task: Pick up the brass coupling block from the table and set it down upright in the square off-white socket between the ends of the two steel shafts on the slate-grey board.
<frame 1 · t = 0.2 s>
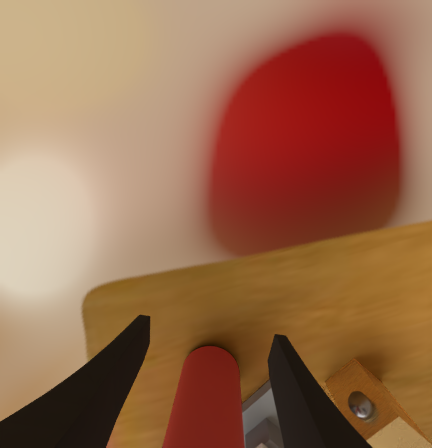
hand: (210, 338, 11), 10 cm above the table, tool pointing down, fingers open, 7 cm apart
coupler: (352, 381, 23), on the table
beer can: (211, 365, 24), on the table
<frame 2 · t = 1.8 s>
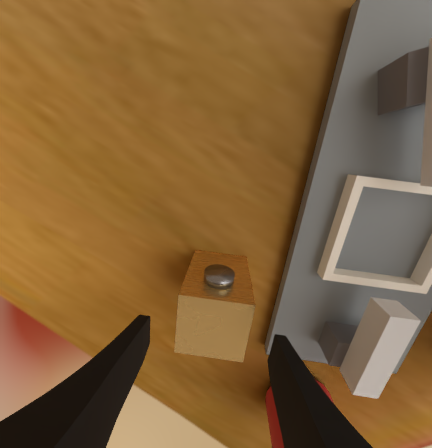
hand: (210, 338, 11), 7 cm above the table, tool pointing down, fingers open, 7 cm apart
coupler: (217, 275, 18), on the table
shaft board: (374, 229, 15), on the table
beer can: (294, 391, 22), on the table
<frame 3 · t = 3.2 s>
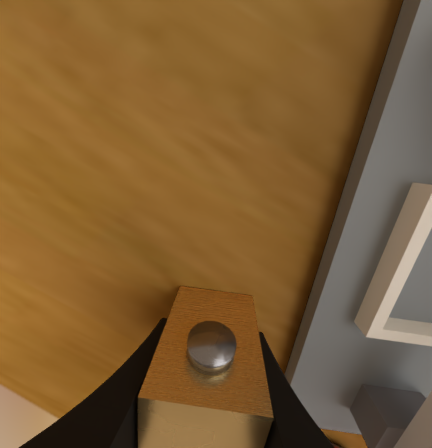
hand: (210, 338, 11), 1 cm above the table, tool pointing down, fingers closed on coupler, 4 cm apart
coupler: (212, 319, 13), on the table, touching gripper
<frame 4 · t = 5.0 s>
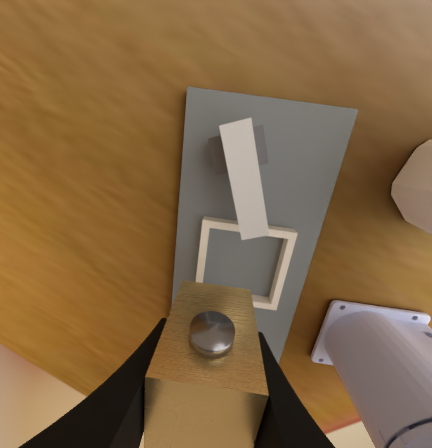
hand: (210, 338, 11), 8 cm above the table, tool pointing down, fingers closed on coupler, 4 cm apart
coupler: (212, 312, 13), point 6 cm above the table, touching gripper
shaft board: (240, 257, 19), on the table
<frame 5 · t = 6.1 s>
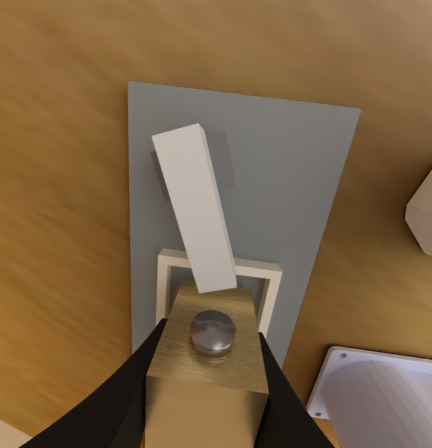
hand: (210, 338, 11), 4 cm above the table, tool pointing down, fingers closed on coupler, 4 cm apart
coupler: (212, 312, 13), point 2 cm above the table, touching gripper
shaft board: (214, 294, 15), on the table
when the fingers open (4 cm above the table, at t = 6.9 s): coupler stays where it is, resting on shaft board.
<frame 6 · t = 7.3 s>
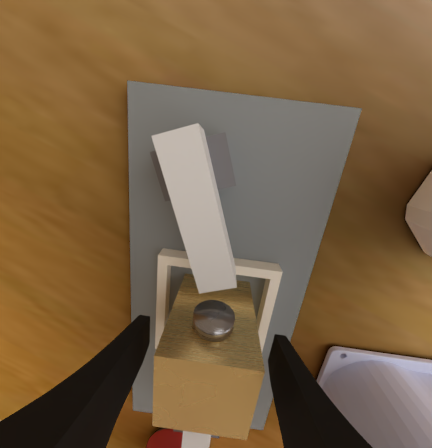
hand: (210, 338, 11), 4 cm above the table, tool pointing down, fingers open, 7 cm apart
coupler: (213, 304, 14), point 1 cm above the table, touching shaft board
shaft board: (214, 294, 15), on the table
beer can: (180, 439, 21), on the table
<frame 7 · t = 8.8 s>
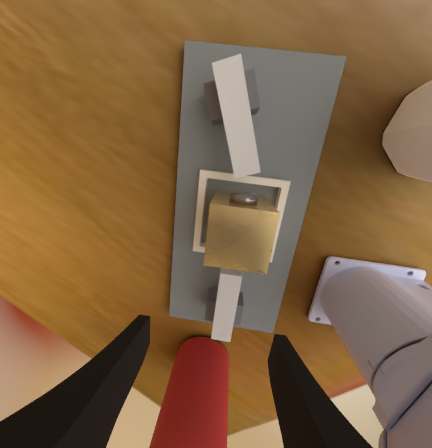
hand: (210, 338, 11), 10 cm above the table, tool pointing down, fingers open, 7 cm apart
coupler: (237, 216, 19), point 1 cm above the table, touching shaft board
shaft board: (237, 213, 20), on the table
cup: (427, 132, 17), on the table
beer can: (203, 352, 26), on the table
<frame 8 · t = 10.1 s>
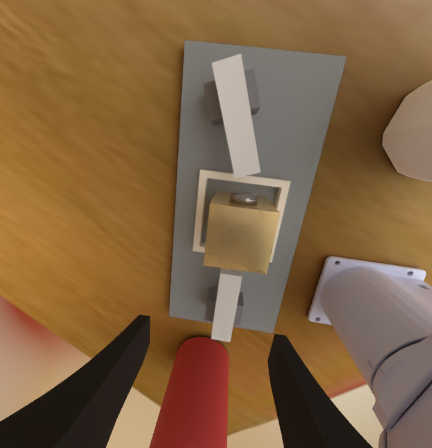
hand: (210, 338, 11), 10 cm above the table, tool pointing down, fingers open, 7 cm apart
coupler: (237, 216, 19), point 1 cm above the table, touching shaft board
shaft board: (237, 213, 20), on the table
cup: (427, 132, 17), on the table
beer can: (203, 352, 26), on the table
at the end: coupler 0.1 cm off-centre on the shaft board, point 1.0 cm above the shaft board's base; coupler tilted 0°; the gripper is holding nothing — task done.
